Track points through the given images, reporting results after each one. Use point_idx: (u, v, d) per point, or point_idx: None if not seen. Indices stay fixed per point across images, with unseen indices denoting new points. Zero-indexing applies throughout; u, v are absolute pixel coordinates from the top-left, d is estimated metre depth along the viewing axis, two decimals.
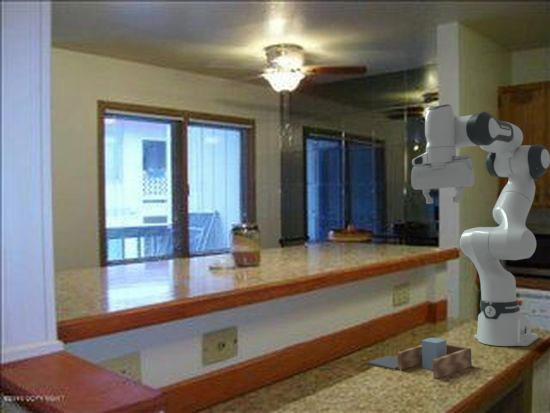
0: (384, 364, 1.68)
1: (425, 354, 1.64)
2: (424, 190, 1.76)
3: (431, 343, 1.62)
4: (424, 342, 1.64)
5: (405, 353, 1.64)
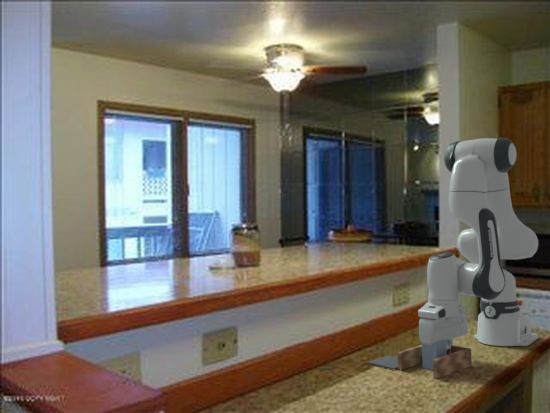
0: (384, 364, 1.68)
1: (425, 354, 1.64)
2: None
3: None
4: None
5: (405, 353, 1.64)
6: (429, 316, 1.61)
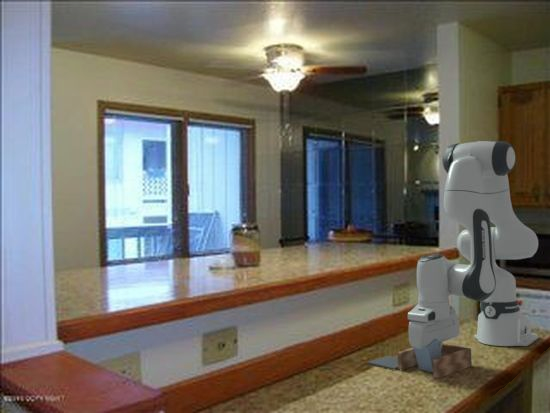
0: (384, 364, 1.68)
1: (419, 357, 1.62)
2: None
3: None
4: None
5: (405, 353, 1.64)
6: (419, 319, 1.58)
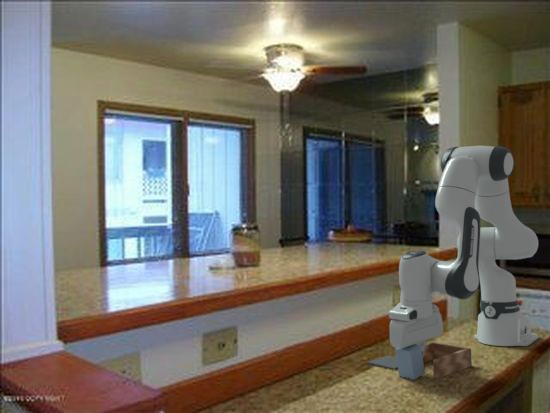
0: (384, 364, 1.68)
1: (400, 362, 1.56)
2: (417, 344, 1.58)
3: (405, 352, 1.54)
4: (398, 350, 1.56)
5: None
6: (400, 318, 1.54)
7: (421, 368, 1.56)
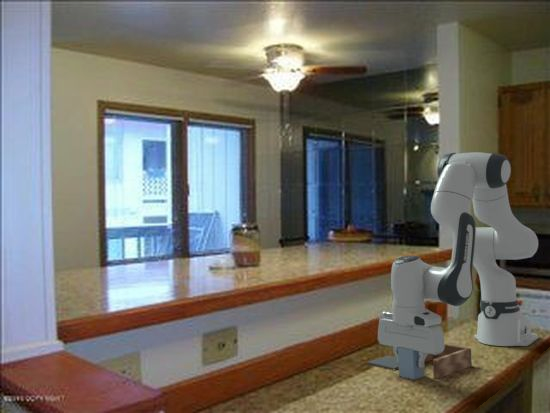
0: (384, 364, 1.68)
1: (402, 362, 1.57)
2: None
3: (407, 350, 1.55)
4: (400, 349, 1.57)
5: None
6: (438, 322, 1.51)
7: (422, 370, 1.56)
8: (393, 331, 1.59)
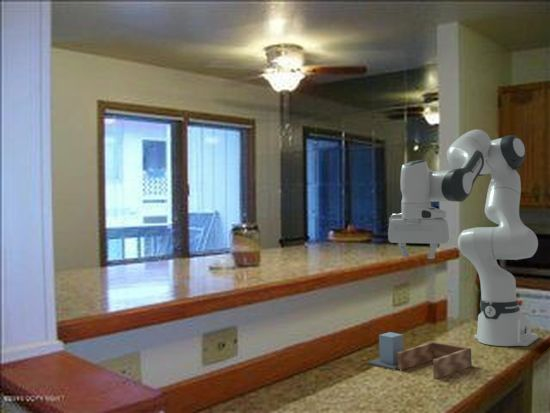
0: (384, 364, 1.68)
1: (382, 348, 1.70)
2: None
3: (387, 337, 1.68)
4: (381, 336, 1.70)
5: (405, 353, 1.64)
6: (443, 215, 1.68)
7: None
8: (402, 229, 1.76)
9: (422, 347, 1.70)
